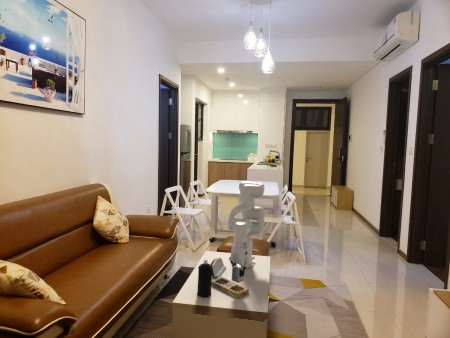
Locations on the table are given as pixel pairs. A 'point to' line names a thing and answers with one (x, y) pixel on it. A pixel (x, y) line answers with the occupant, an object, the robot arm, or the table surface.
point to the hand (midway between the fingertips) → (238, 274)
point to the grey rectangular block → (237, 274)
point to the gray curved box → (217, 267)
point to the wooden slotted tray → (230, 287)
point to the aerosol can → (204, 280)
